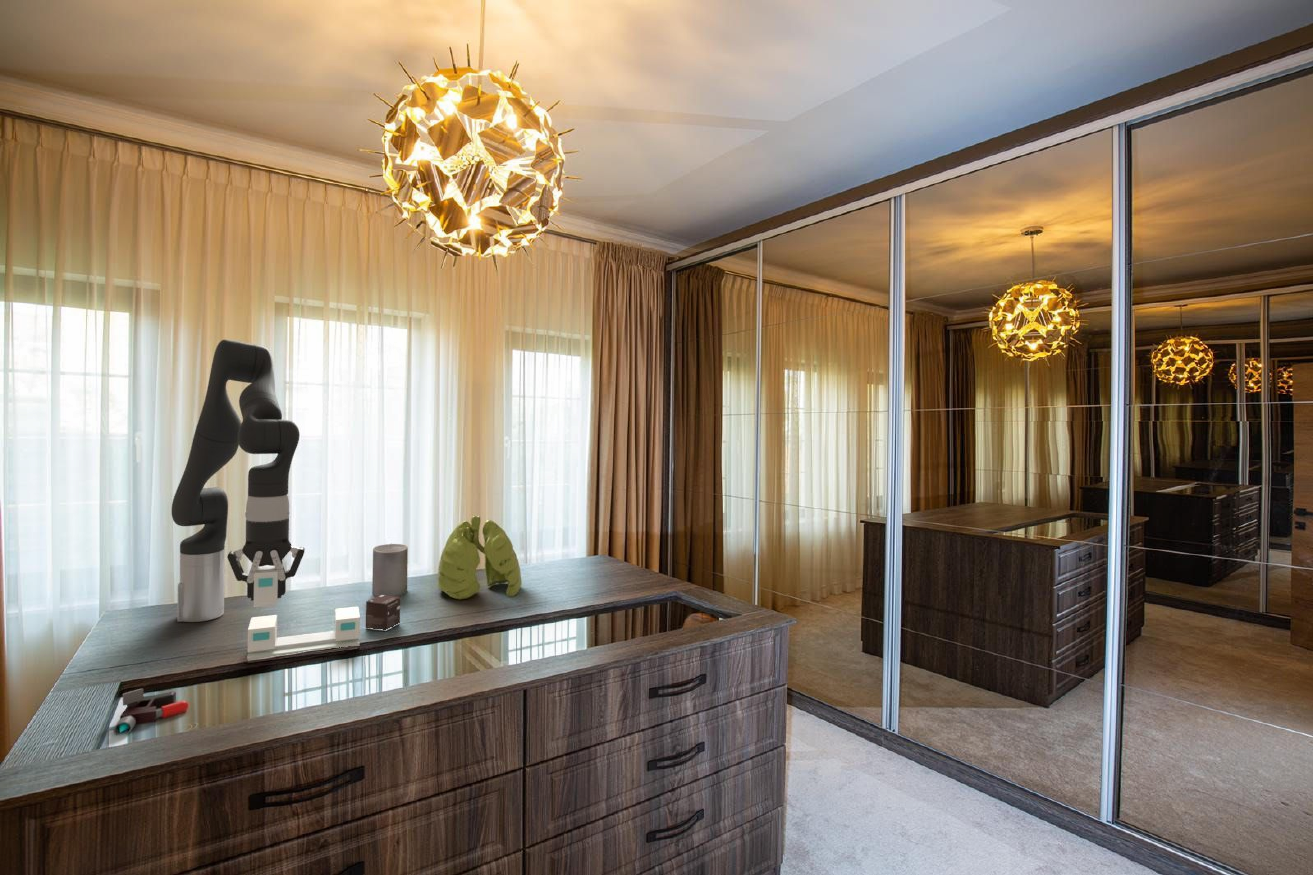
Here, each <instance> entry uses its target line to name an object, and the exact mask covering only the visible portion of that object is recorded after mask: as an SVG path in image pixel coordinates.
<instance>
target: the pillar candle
mask: <svg viewBox="0 0 1313 875" xmlns="http://www.w3.org/2000/svg"><path fill="white" fill-rule="evenodd" d="M408 548H409V547H408V545H405V544H402V543H401V544H399V543H388V544H386V543H385V544H381V545H377V546H375V547H373V548H372V583H371V586H372V589H371V592H372V593H371V594H372V595H373V597H377V596H380V595H387V596H396V597H401V596H402V595H405V594H406V593H407V591H408V559H409V558H408V552H409V550H408Z"/></svg>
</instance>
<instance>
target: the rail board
mask: <svg viewBox="0 0 1313 875" xmlns="http://www.w3.org/2000/svg"><path fill="white" fill-rule="evenodd" d="M359 608H360V607H359V606H350V607H340V608H335V611H334V612H335V613H334V616H335V617H334V630H330V631H322V632H321V631H320V632H313V633H305V634H296V635H288V636H287V635H286V636H280V637H279V636H278V614H273V615H263V616H262V615H261V616H252V617H251V618H250V621H249V624H248V628H247V653H248V654H247V655H246V656H247V657H246V660H247V659H256V658H264V657H270V656H276V655H286V654H293V653H298V652H303V651H308V650H324V649H331V648H339V647H340V648H341V647H348V646H360V644H361V643H360V633H361V632H360V631H361V630H360V627H361V616H360V614H361V613H360V609H359ZM277 636H278V637H277Z"/></svg>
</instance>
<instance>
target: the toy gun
mask: <svg viewBox="0 0 1313 875" xmlns="http://www.w3.org/2000/svg"><path fill="white" fill-rule="evenodd" d="M176 700H177V692H176V691H174V690H173V691H168V692H167V691H166V692H164V693H159V694H154V695H147V696H144V688H138V689H134V690H130V691H128V692H127V691H126V692H124V693H122V706H126V708H125V709H124V710H123V712H122V713H121V714H120V715H119V720H118V722H117V723H116V724H115V725H114V727H113V730H112V731H113V734H114V735H115V736H120V734H121V733H122V732H125V731H127V732H126V734H130V733H131V731H132V730H133V728H134V727H135V726H136V725H143V724H150V723H157V719H159V718H162V719H165V718H168V717H171V716H175V715H179V714H181V713H184V712H186V711H187V710H188V709H189V705H190V704H189V703H188V701H186V700H179V701H177V702H175V701H176Z"/></svg>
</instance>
